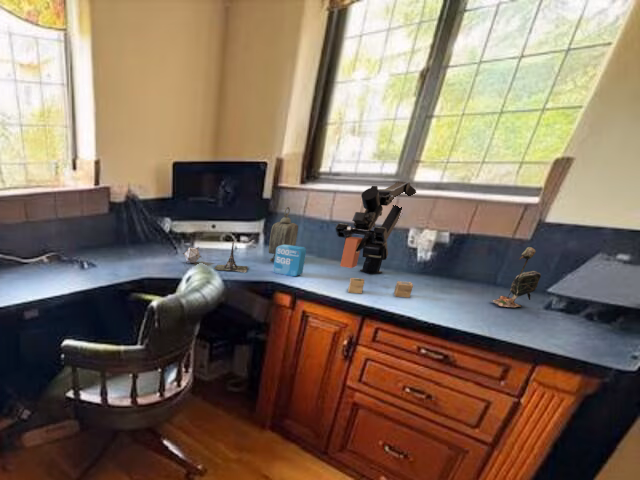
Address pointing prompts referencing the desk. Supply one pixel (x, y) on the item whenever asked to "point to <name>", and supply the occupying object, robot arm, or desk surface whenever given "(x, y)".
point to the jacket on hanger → (282, 234)
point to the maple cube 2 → (403, 289)
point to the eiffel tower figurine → (231, 264)
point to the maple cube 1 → (356, 285)
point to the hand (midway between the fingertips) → (350, 250)
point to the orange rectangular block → (350, 252)
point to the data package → (289, 260)
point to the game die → (192, 255)
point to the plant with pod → (521, 283)
